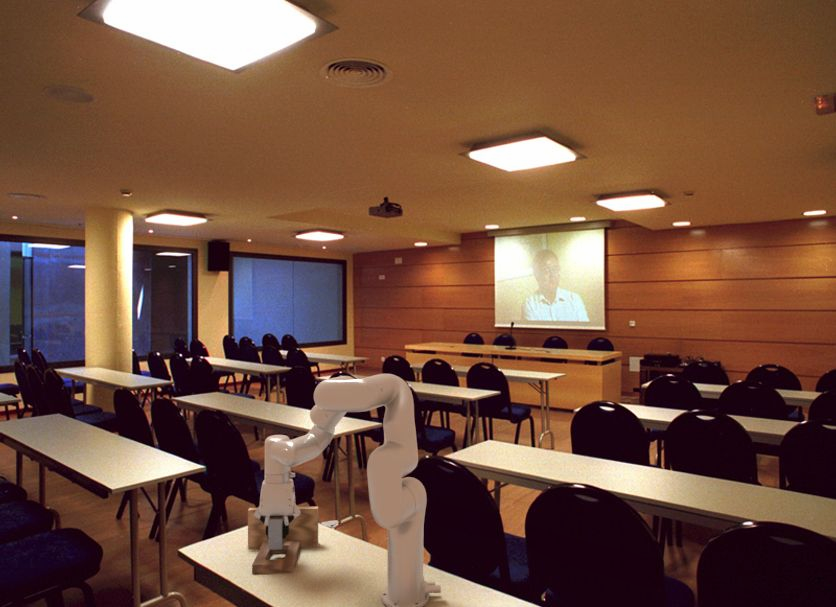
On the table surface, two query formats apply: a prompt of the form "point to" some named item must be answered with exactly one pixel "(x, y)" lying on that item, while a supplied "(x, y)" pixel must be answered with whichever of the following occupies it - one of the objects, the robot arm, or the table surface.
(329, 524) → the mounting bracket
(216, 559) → the table surface
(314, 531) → the wooden backboard stand
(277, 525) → the tall grey rectangular prism
